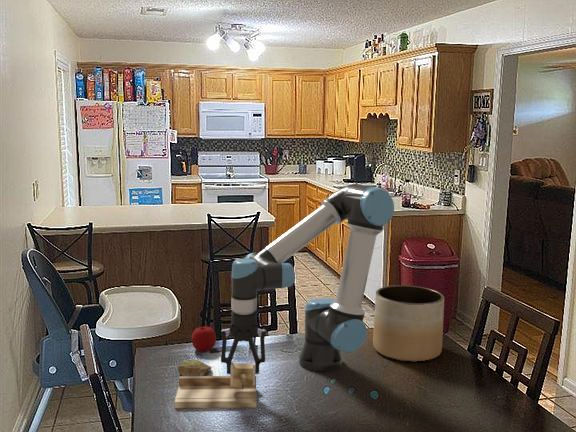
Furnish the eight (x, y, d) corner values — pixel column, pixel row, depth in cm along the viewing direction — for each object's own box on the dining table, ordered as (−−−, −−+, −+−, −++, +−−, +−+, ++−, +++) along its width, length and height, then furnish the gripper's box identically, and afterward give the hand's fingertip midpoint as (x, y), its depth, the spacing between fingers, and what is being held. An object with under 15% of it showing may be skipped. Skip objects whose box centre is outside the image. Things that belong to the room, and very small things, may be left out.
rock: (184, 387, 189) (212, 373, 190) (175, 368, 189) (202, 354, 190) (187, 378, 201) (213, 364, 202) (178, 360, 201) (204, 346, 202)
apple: (214, 354, 210) (214, 328, 208) (189, 354, 210) (189, 328, 208) (217, 345, 219) (217, 320, 218) (193, 344, 219) (193, 319, 218)
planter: (440, 342, 227) (443, 287, 224) (442, 367, 203) (446, 307, 199) (375, 335, 233) (377, 282, 229) (369, 359, 208) (372, 300, 205)
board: (255, 389, 183) (256, 375, 183) (256, 407, 171) (256, 392, 171) (179, 389, 182) (179, 376, 181) (174, 408, 170) (174, 393, 169)
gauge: (252, 381, 179) (252, 363, 178) (252, 394, 171) (253, 374, 170) (233, 381, 179) (233, 363, 178) (232, 394, 170) (232, 374, 169)
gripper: (275, 306, 178) (273, 378, 181) (212, 306, 176) (212, 378, 180) (276, 314, 170) (274, 388, 174) (211, 314, 169) (210, 389, 172)
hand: (242, 383), depth 177 cm, fingers closed on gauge, 6 cm apart
